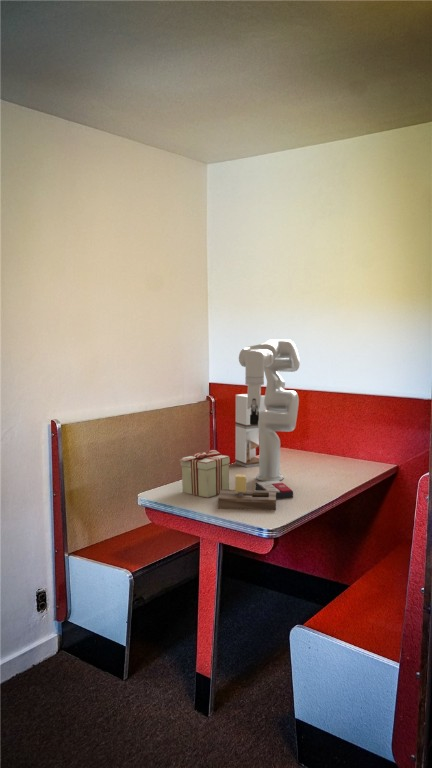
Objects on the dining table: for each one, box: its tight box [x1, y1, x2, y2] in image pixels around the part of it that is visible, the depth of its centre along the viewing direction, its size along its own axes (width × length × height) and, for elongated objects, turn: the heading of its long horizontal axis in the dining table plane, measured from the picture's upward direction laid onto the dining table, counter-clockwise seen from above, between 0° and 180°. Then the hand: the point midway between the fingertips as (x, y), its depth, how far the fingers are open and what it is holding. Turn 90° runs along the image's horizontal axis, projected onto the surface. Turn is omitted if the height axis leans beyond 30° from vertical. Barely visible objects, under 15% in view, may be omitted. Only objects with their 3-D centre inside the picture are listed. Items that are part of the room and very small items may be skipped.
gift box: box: [177, 449, 231, 499], centre depth 259 cm, size 17×18×17 cm
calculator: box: [255, 480, 294, 500], centre depth 257 cm, size 11×4×15 cm
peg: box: [234, 473, 247, 496], centre depth 241 cm, size 5×5×12 cm
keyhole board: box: [217, 489, 277, 511], centre depth 241 cm, size 13×22×4 cm, turn 84°
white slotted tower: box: [234, 393, 267, 468], centre depth 309 cm, size 11×11×35 cm
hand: (254, 422), depth 252 cm, fingers open, 9 cm apart
